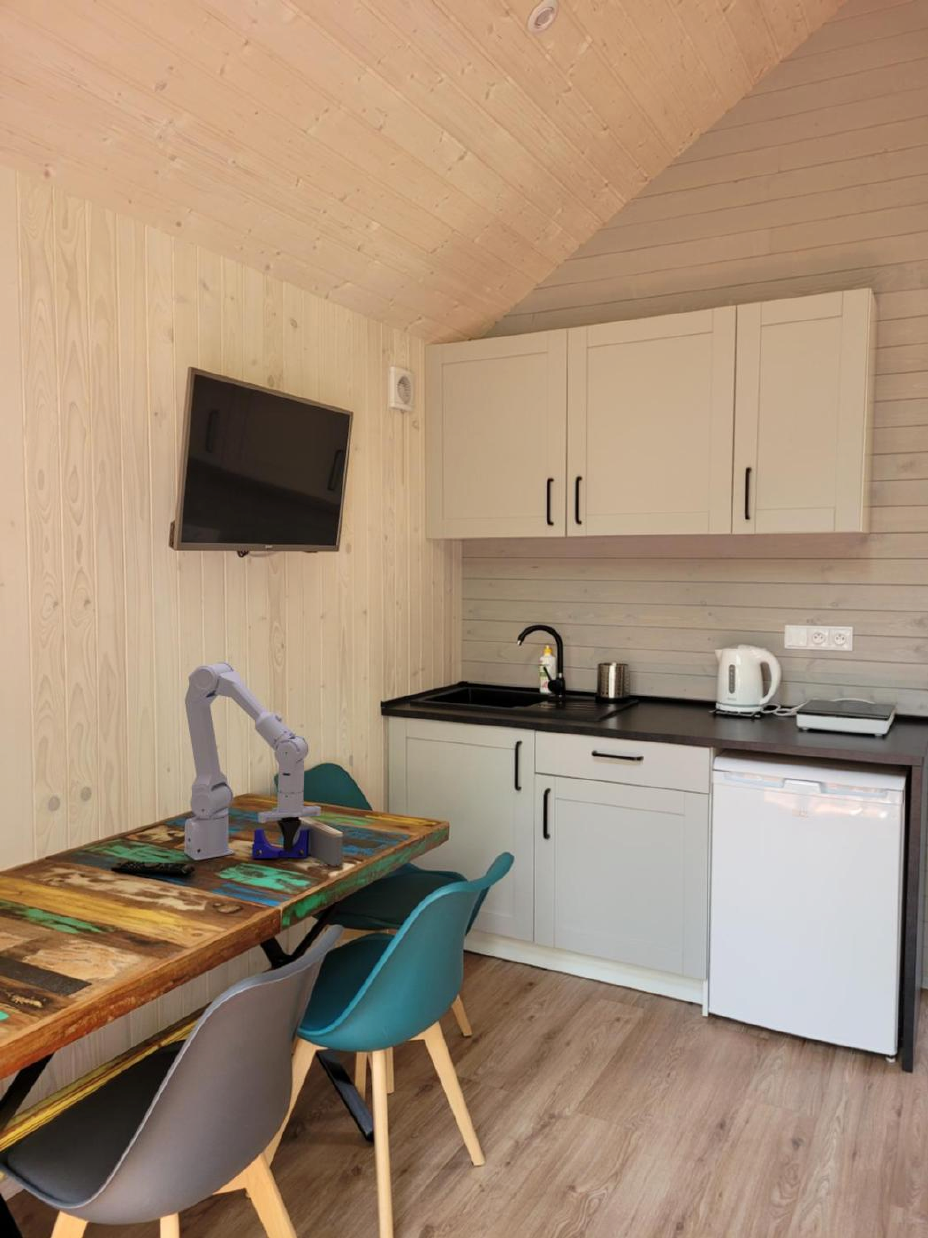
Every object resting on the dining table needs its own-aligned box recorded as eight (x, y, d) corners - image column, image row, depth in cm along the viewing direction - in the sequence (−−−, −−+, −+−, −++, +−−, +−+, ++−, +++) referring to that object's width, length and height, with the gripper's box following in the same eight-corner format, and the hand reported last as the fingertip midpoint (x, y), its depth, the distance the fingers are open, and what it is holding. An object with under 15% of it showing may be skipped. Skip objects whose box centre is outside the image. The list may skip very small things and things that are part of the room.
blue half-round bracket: (252, 858, 212) (252, 831, 213) (256, 855, 217) (257, 828, 217) (304, 858, 212) (305, 831, 213) (308, 855, 216) (309, 829, 217)
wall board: (332, 866, 208) (332, 834, 208) (292, 845, 224) (292, 815, 224) (342, 864, 209) (342, 832, 209) (302, 844, 226) (302, 814, 225)
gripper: (268, 797, 205) (266, 859, 205) (327, 791, 213) (325, 850, 213) (255, 791, 210) (253, 851, 211) (313, 785, 219) (312, 843, 219)
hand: (289, 850), depth 213 cm, fingers closed, pressing on blue half-round bracket
